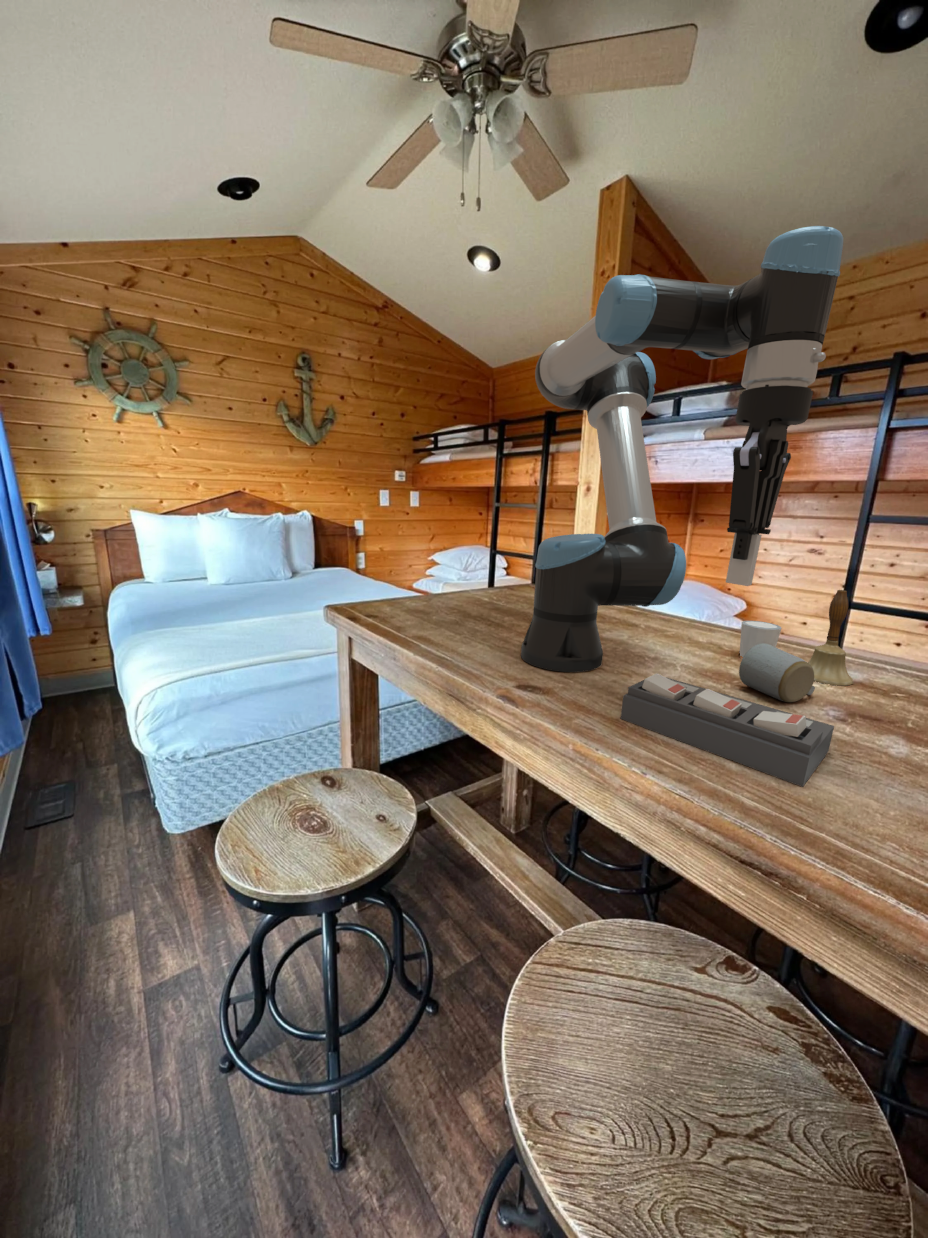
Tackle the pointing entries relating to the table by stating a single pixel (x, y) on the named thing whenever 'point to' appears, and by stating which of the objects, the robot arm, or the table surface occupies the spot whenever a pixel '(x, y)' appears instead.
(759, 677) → the ceramic mug
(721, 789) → the table surface
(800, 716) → the rocker
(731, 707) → the middle rocker
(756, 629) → the white cylinder
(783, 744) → the rocker switch box
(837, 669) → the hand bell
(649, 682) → the rocker
